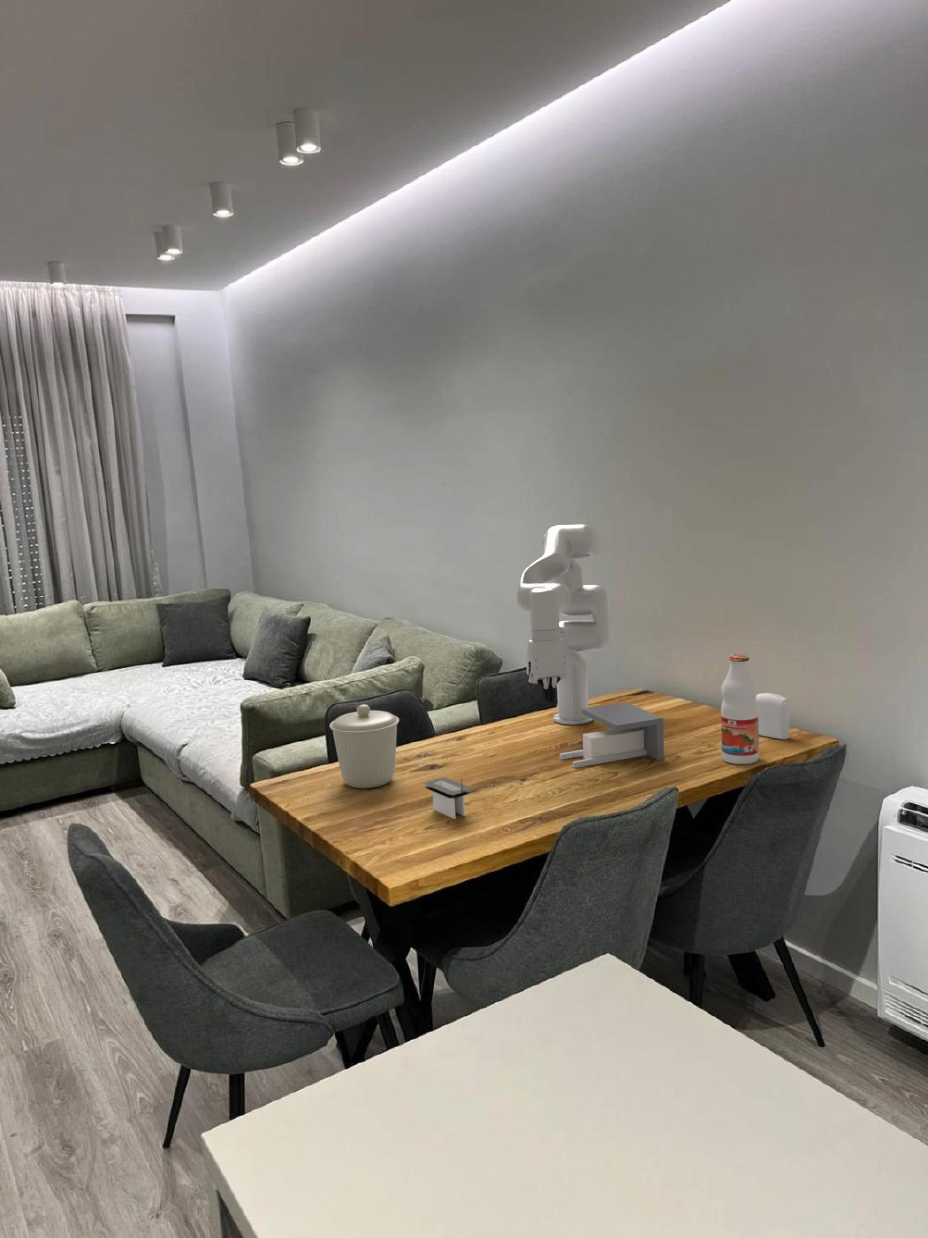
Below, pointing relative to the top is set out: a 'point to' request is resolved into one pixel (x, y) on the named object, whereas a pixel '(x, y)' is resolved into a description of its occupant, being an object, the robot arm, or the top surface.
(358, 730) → the canister
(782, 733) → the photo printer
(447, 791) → the architectural model
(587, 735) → the cream rectangular prism
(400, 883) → the top surface
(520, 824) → the top surface
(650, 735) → the overhang shelf
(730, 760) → the fruit juice
